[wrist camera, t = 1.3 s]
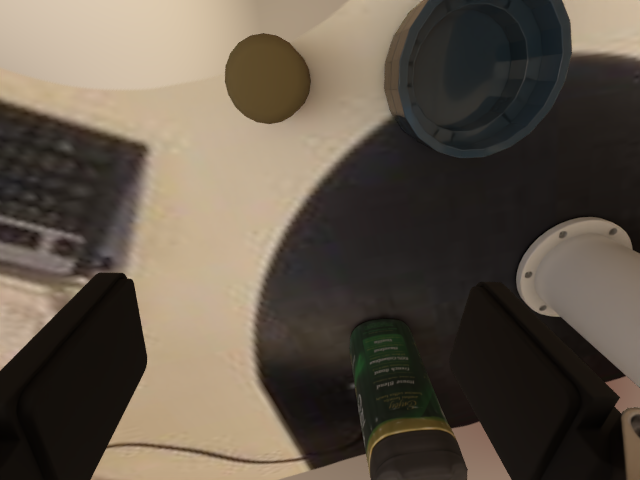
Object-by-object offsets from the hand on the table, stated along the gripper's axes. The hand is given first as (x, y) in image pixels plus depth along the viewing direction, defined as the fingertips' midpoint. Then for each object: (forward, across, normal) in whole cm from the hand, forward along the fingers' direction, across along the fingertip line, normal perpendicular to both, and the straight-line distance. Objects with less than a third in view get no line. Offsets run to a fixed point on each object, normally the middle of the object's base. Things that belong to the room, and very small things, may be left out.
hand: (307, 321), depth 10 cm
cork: (+26, +2, -6) cm, 27 cm away
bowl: (+26, -14, -8) cm, 30 cm away
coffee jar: (+26, -12, +24) cm, 37 cm away
